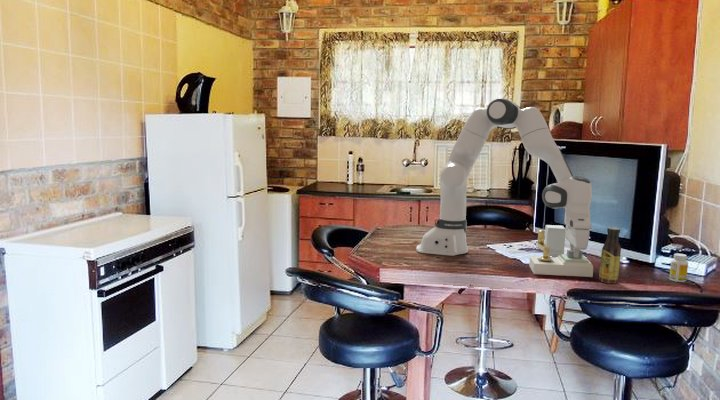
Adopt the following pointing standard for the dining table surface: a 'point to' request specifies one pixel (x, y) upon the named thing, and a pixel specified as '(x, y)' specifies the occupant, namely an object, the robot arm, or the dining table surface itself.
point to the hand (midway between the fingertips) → (574, 255)
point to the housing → (560, 267)
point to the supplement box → (555, 239)
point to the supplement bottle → (679, 268)
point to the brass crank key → (543, 246)
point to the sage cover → (570, 258)
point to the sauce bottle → (610, 257)
